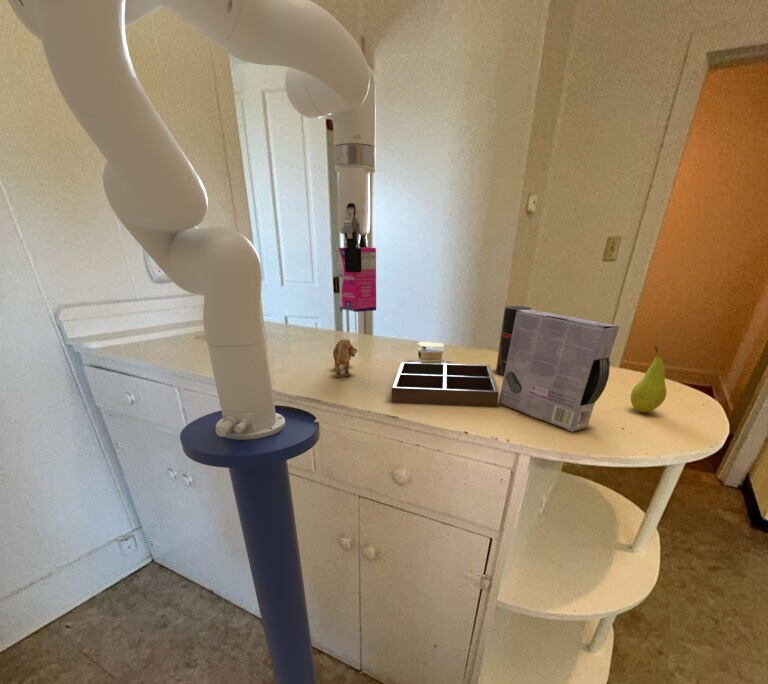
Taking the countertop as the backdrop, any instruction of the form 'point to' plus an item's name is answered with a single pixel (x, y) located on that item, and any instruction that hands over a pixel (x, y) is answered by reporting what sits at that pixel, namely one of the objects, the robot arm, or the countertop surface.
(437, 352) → the stacked layers on plate
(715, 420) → the countertop surface
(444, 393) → the grid
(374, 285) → the supplement box
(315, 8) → the robot arm
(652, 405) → the fruit
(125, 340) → the countertop surface
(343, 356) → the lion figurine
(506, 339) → the deodorant
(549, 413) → the cake pan box
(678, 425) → the countertop surface
